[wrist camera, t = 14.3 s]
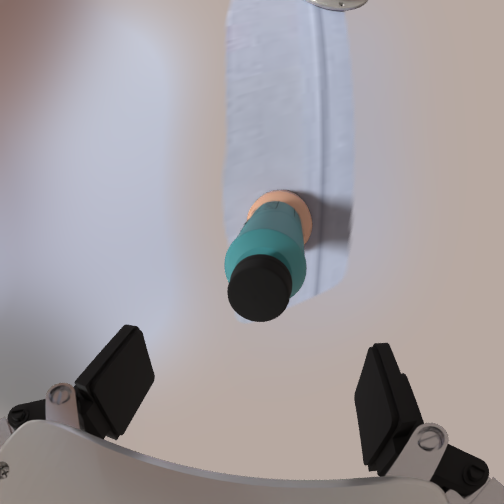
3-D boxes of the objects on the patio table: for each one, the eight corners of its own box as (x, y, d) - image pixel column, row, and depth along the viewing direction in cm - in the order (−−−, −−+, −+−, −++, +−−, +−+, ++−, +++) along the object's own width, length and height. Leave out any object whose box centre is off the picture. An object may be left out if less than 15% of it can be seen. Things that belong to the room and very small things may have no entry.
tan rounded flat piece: (284, 177, 36) (283, 178, 33) (322, 225, 38) (325, 230, 35) (237, 215, 39) (233, 219, 36) (275, 260, 40) (274, 267, 37)
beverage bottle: (255, 193, 34) (205, 236, 16) (307, 202, 34) (322, 256, 15) (248, 242, 37) (200, 329, 18) (298, 251, 36) (298, 348, 17)
